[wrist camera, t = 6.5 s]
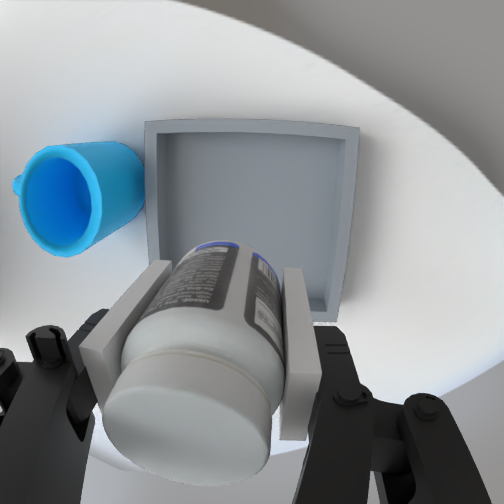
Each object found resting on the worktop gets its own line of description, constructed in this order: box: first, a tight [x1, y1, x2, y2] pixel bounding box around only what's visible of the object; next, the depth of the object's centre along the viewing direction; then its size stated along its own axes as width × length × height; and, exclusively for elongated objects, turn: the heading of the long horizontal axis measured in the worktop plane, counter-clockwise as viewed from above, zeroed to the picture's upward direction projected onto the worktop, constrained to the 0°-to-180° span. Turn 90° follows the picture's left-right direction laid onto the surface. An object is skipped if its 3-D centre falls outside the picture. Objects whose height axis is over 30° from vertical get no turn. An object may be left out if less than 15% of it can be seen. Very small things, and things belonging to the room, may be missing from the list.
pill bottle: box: [102, 240, 285, 486], centre depth 10 cm, size 5×5×8 cm
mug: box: [12, 141, 145, 257], centre depth 23 cm, size 12×8×8 cm
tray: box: [144, 119, 360, 322], centre depth 26 cm, size 16×16×3 cm
